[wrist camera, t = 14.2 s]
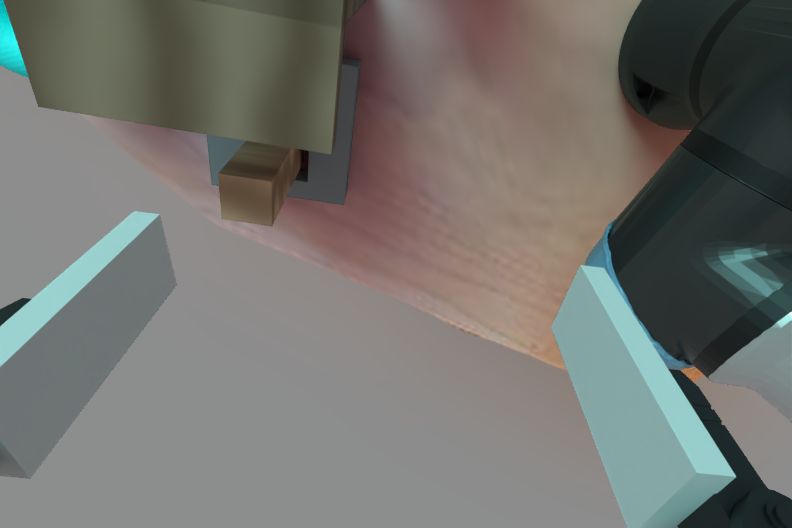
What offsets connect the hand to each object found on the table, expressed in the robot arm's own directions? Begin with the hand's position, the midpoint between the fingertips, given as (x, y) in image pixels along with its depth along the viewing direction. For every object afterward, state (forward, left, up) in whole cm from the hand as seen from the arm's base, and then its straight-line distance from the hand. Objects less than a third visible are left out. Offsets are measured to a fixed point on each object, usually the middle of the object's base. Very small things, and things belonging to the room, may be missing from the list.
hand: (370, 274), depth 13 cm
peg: (+10, +9, -33) cm, 35 cm away
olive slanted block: (+11, -3, -33) cm, 34 cm away
